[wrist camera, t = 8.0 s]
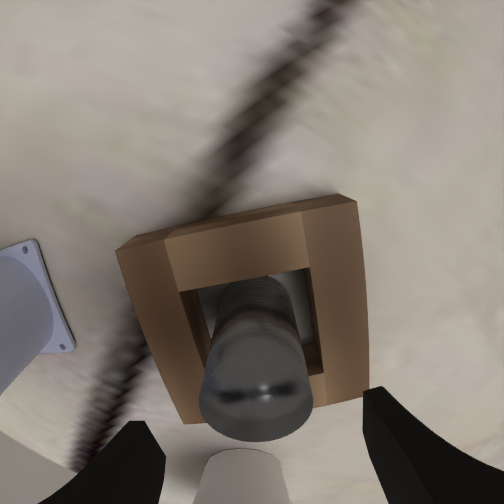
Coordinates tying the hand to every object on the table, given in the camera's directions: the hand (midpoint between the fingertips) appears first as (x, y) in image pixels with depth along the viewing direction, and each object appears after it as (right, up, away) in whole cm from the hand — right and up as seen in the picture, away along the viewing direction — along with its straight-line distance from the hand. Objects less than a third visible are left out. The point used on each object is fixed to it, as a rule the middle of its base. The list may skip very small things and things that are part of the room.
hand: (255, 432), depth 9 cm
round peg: (0, +3, +9) cm, 9 cm away
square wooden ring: (0, +3, +9) cm, 9 cm away
